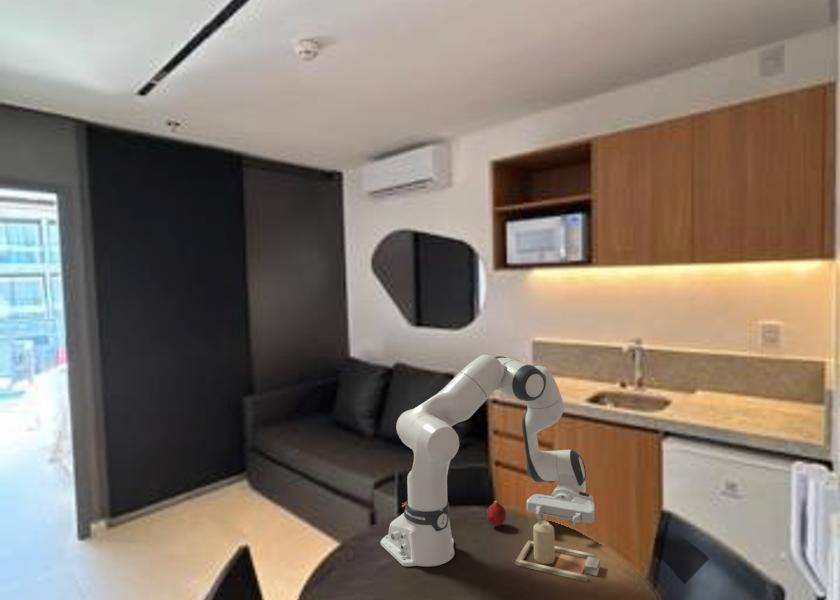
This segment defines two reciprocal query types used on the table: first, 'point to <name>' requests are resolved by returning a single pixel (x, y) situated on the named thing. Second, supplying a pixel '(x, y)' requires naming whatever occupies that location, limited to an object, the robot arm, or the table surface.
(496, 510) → the onion
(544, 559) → the candle
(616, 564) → the table surface
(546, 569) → the beige frame
